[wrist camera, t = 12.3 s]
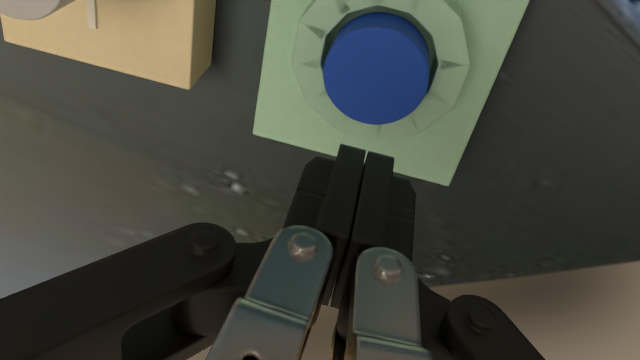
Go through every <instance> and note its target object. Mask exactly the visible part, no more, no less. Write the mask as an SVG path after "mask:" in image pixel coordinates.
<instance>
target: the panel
mask: <svg viewBox="0 0 640 360" xmlns="http://www.w3.org/2000/svg"><path fill="white" fill-rule="evenodd" d="M215 7H216V0H76V1H74V2H72V3H70V4H68V5H67V6H65V7H63V8H61V9H59V10H58V11H56V12H54V13H52V14H50V15H49V16H47V17H44V18H42V19H38V20H20V19H15V18H12V17H9V16H6V15H4V14H2V13H0V16H1V22H2V27H3V33H4V39H5V41H6V42H10V43H14V44H17V45H21V46H25V47H29V48H33V49H36V50H40V51H44V52H48V53H51V54H55V55H59V56H63V57H66V58H70V59H74V60H78V61H82V62H85V63H89V64H93V65H97V66H100V67H104V68H108V69H112V70H116V71H119V72H123V73H127V74H131V75H134V76H138V77H142V78H146V79H150V80H153V81H157V82H161V83H165V84H168V85H172V86H176V87H180V88H183V89H187V90H190V89H191V87H192V86H193V85H194V84H195V83H196V82H197V80H198V79H199V78H200V77H201V76H202V75H203V73H204V72H205V71H206V70H207V69H208V67H209V66H210V65H211V59H212V46H213V33H214V20H215Z"/></svg>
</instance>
